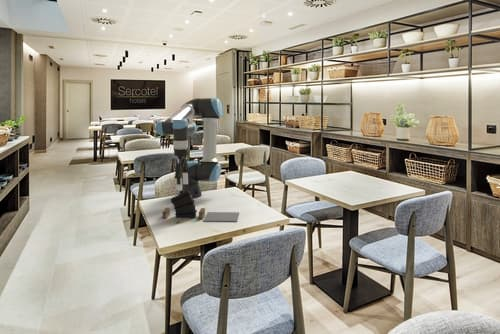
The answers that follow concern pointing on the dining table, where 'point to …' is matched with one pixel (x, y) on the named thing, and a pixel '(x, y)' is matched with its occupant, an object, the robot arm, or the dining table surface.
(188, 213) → the black piece
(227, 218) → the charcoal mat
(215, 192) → the dining table surface
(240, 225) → the dining table surface
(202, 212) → the walnut holder
